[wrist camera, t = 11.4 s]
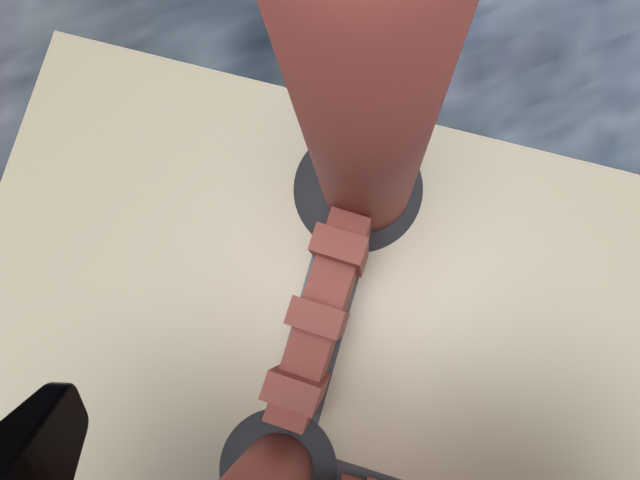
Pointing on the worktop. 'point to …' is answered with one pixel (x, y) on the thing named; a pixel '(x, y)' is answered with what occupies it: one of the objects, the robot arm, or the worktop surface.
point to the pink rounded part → (354, 152)
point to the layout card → (290, 279)
